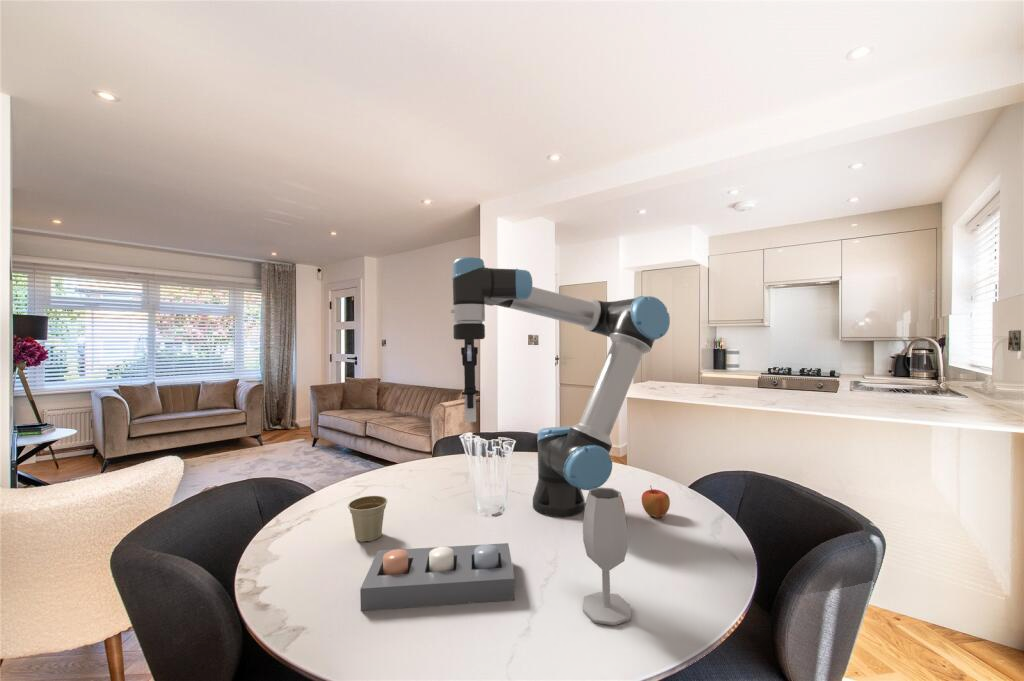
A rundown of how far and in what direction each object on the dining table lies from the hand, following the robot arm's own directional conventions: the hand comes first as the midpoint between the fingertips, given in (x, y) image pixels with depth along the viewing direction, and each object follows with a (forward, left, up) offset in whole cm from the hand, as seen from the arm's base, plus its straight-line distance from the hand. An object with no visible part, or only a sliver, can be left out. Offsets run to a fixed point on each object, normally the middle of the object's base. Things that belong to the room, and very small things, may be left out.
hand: (470, 421), depth 101 cm
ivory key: (+6, +16, -27) cm, 32 cm away
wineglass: (-24, +28, -30) cm, 47 cm away
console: (+6, +16, -29) cm, 34 cm away
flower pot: (+26, -7, -30) cm, 40 cm away
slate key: (-3, +16, -27) cm, 32 cm away
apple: (-50, -10, -30) cm, 59 cm away
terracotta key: (+15, +16, -27) cm, 35 cm away
